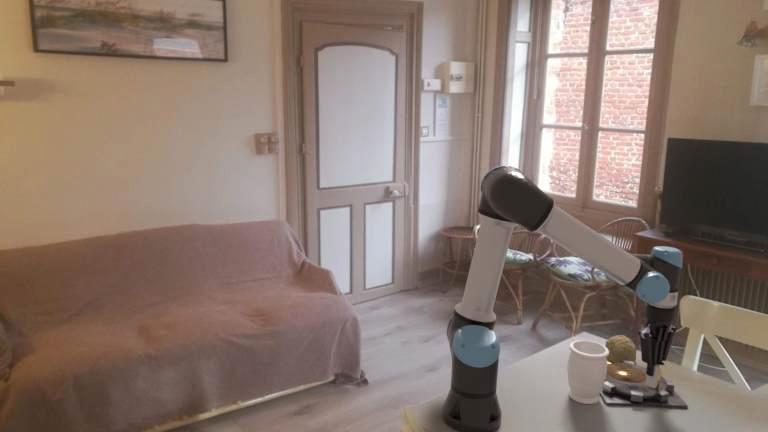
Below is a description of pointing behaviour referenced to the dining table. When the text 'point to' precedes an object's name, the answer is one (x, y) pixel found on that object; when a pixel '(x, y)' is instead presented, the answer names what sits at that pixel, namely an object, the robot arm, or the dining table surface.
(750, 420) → the dining table surface
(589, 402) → the jar
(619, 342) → the decorative object
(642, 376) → the sprocket
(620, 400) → the base plate
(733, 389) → the dining table surface
